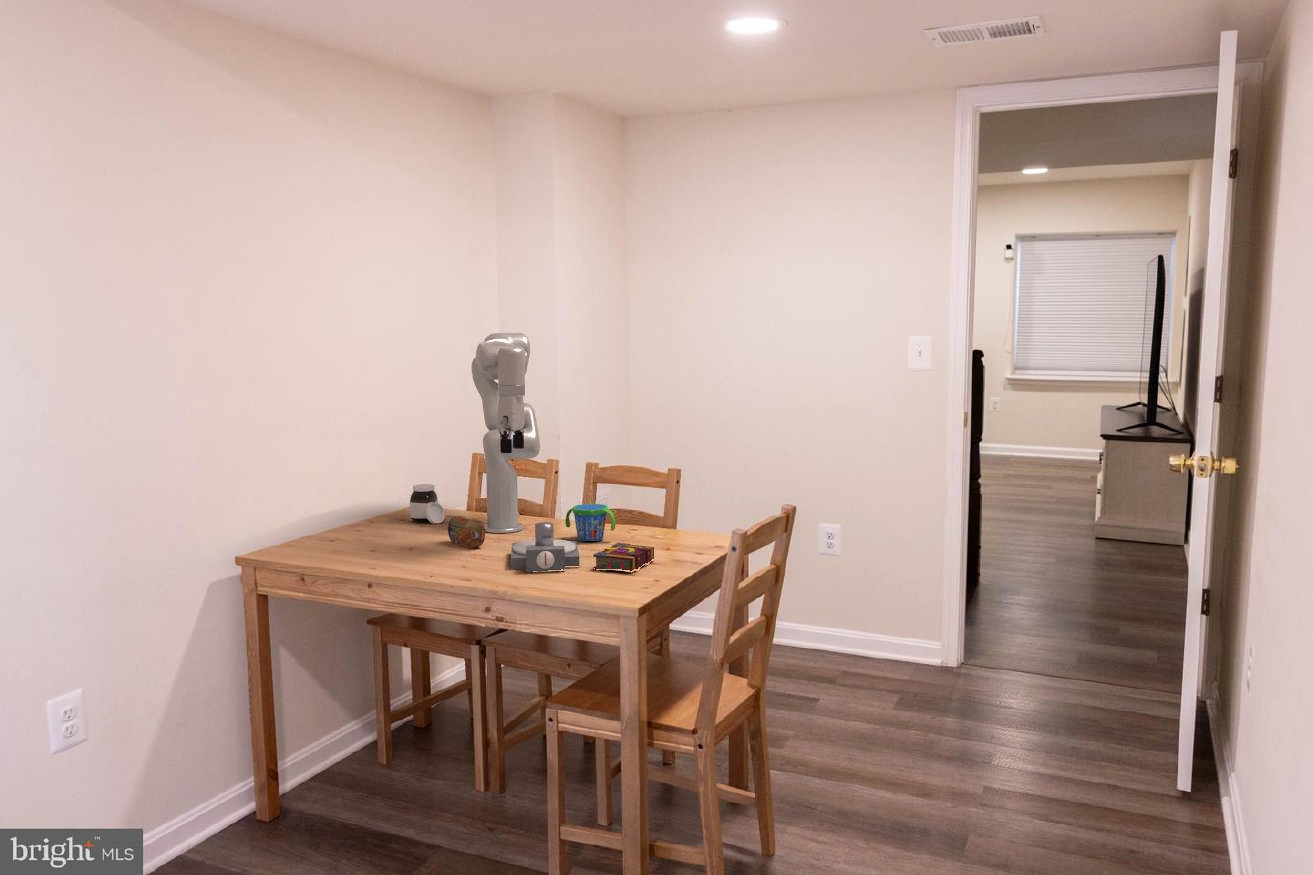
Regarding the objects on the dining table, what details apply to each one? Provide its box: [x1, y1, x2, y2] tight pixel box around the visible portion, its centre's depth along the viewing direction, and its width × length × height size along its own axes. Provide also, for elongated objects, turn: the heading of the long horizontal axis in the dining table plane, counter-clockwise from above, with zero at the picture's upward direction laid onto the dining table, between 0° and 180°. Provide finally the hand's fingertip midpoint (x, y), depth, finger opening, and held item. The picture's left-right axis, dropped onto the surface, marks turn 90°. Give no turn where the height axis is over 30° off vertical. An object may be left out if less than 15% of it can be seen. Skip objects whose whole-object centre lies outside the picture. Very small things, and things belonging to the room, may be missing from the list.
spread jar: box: [409, 483, 446, 525], centre depth 320 cm, size 12×11×12 cm
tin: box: [447, 515, 486, 549], centre depth 287 cm, size 15×3×8 cm, turn 47°
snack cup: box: [564, 503, 617, 542], centre depth 294 cm, size 16×10×10 cm
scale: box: [510, 538, 580, 572], centre depth 267 cm, size 22×18×6 cm
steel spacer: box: [534, 521, 555, 546], centre depth 269 cm, size 5×5×6 cm
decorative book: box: [593, 542, 655, 571], centre depth 263 cm, size 11×16×5 cm
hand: (512, 450), depth 282 cm, fingers open, 9 cm apart
